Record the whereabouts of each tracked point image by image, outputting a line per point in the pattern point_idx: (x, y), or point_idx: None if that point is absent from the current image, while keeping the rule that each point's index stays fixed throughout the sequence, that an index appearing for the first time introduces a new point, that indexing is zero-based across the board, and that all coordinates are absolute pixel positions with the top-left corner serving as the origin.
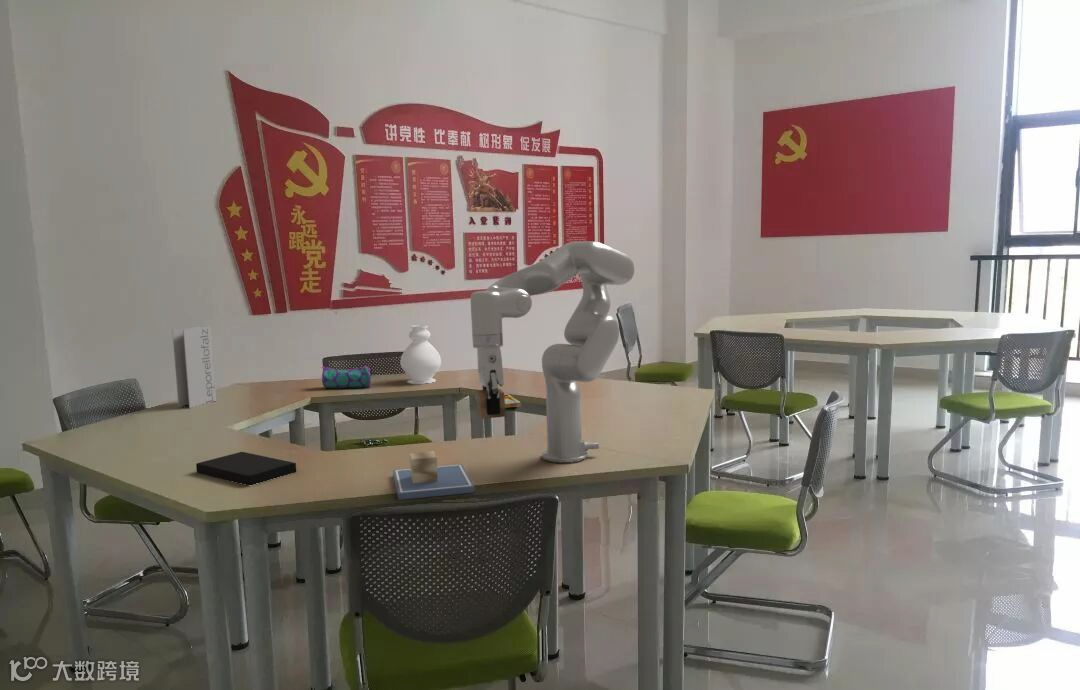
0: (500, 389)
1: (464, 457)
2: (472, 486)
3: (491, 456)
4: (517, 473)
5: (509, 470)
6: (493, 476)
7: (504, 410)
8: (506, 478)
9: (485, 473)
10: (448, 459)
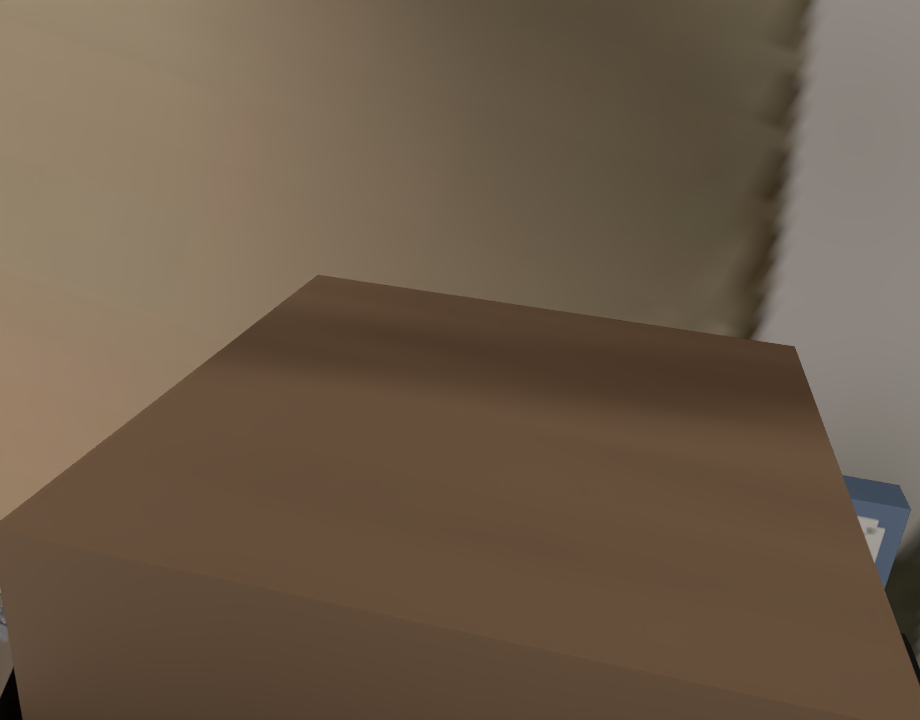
0: (166, 570)
1: (10, 269)
2: (906, 522)
3: (21, 65)
4: (573, 4)
5: (456, 45)
6: (566, 228)
7: (808, 414)
8: (672, 146)
9: (461, 259)
10: (37, 383)
